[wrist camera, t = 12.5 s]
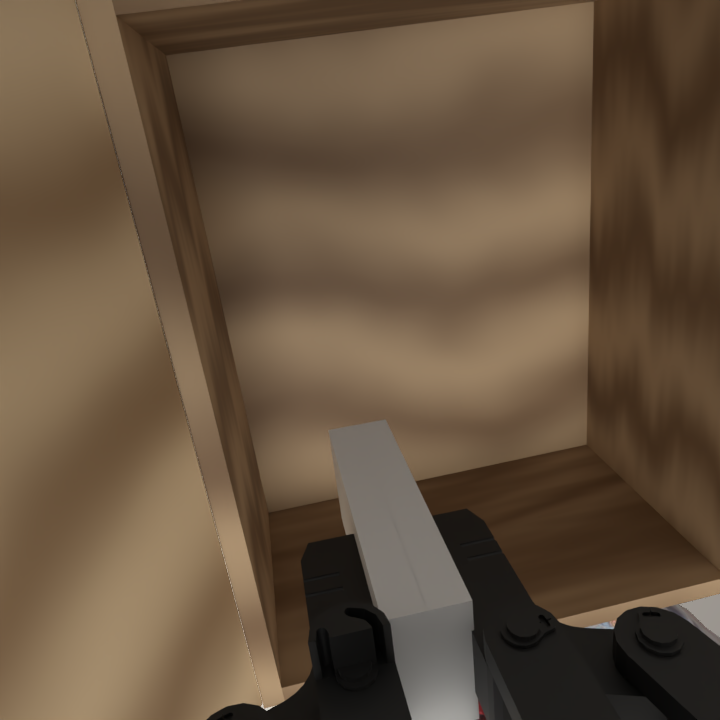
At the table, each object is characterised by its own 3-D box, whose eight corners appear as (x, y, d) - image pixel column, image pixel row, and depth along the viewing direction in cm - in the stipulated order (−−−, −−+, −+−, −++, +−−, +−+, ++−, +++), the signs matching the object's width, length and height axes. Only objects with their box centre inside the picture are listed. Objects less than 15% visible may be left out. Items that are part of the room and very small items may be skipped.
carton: (143, 37, 25) (70, -21, 14) (601, -18, 28) (840, -105, 17) (256, 519, 35) (264, 708, 24) (592, 446, 37) (741, 588, 26)
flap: (74, -1, 14) (54, 3, 15) (-651, -93, 6) (-674, -79, 6) (262, 703, 23) (248, 699, 24) (77, 1061, 15) (58, 1051, 15)
